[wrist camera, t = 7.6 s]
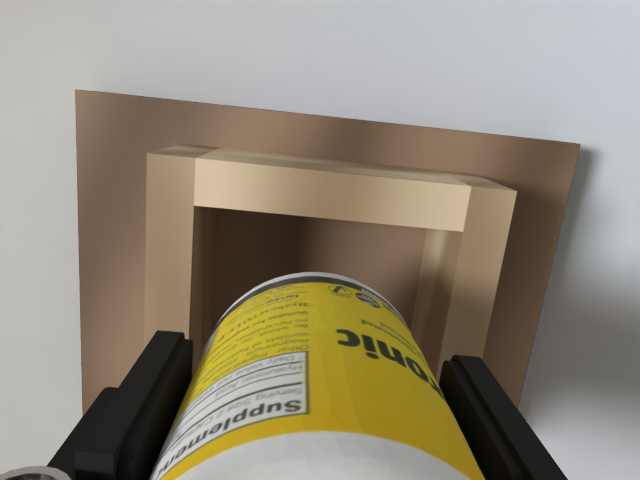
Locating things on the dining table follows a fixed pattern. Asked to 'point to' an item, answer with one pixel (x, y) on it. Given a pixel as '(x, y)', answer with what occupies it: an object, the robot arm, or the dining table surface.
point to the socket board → (308, 225)
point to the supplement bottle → (314, 393)
